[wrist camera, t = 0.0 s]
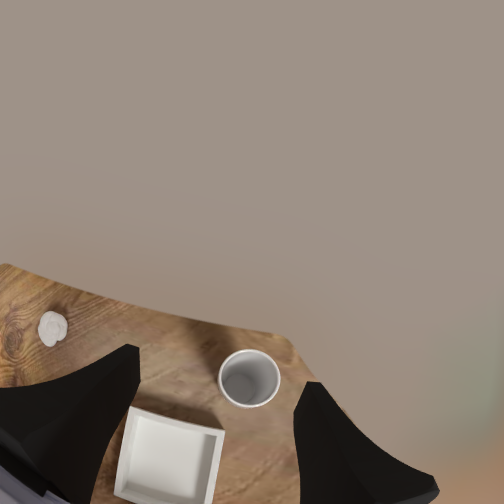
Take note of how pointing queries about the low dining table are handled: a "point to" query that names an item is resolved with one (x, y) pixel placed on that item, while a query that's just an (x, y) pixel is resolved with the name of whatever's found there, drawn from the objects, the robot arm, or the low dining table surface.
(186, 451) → the bin
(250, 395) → the drinking glass
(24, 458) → the robot arm
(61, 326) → the dumpling
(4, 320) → the low dining table surface
